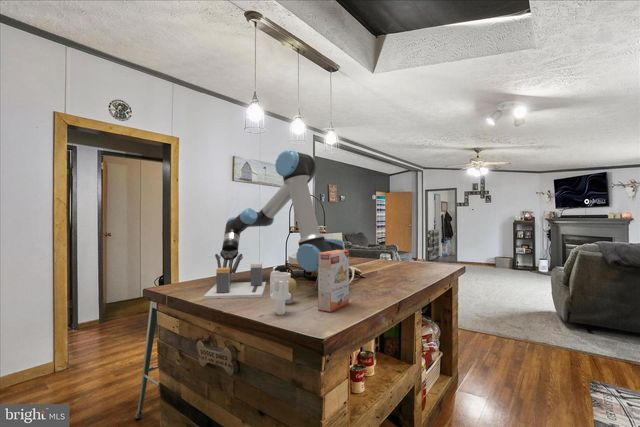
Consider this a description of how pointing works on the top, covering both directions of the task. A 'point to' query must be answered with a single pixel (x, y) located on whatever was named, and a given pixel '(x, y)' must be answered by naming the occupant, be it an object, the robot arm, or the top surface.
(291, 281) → the light bulb
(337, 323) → the top surface
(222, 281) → the block
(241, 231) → the robot arm
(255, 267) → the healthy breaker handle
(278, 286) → the white stepped cylinder
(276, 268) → the medicine bottle
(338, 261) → the cracker box
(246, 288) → the plate
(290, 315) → the top surface
